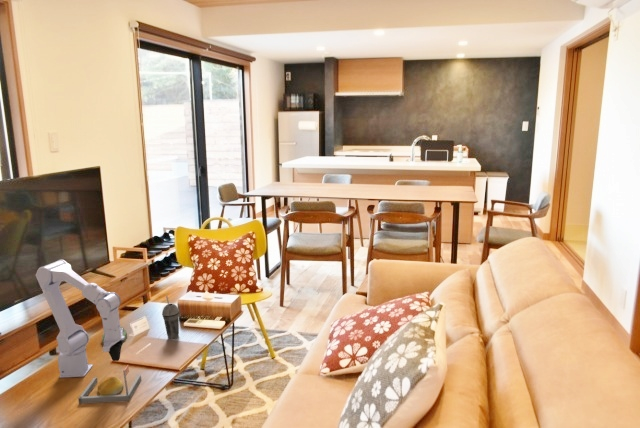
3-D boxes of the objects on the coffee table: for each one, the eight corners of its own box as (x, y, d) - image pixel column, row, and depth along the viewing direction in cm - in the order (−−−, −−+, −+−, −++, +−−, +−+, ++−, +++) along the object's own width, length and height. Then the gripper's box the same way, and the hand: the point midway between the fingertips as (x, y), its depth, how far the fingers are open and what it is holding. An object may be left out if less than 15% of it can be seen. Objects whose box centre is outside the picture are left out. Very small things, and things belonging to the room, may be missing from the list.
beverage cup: (185, 335, 210) (181, 293, 206) (172, 342, 204) (167, 299, 200) (174, 332, 214) (169, 290, 209) (161, 338, 208) (156, 296, 203)
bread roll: (102, 400, 165) (101, 390, 164) (96, 389, 172) (94, 379, 171) (127, 391, 170) (125, 381, 169) (119, 381, 177) (118, 371, 176)
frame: (79, 403, 163) (74, 373, 161) (94, 382, 176) (90, 353, 173) (129, 401, 164) (125, 370, 161) (141, 379, 177) (137, 351, 174)
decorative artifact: (132, 338, 210) (118, 332, 215) (130, 323, 208) (117, 318, 214) (111, 347, 202) (98, 341, 207) (109, 332, 200) (95, 326, 206)
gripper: (115, 335, 166) (119, 370, 170) (129, 317, 181) (133, 349, 184) (94, 336, 166) (99, 370, 169) (111, 317, 180) (115, 350, 183)
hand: (116, 359), depth 177 cm, fingers closed
